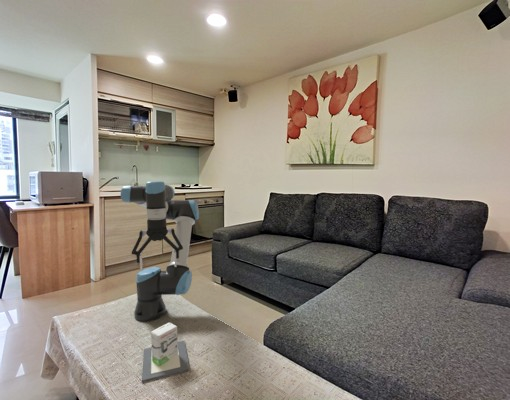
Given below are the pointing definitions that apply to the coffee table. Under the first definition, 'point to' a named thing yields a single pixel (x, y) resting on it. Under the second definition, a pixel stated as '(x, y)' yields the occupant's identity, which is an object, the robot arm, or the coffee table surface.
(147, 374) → the writing mat
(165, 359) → the ink box
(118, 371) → the coffee table surface
